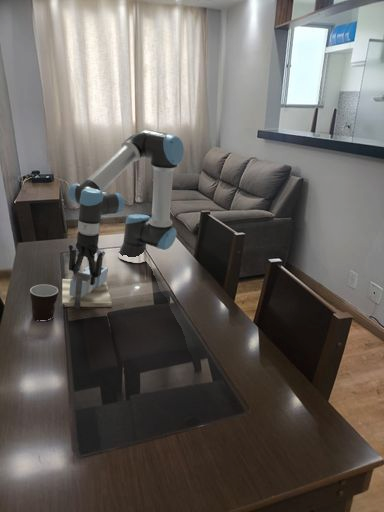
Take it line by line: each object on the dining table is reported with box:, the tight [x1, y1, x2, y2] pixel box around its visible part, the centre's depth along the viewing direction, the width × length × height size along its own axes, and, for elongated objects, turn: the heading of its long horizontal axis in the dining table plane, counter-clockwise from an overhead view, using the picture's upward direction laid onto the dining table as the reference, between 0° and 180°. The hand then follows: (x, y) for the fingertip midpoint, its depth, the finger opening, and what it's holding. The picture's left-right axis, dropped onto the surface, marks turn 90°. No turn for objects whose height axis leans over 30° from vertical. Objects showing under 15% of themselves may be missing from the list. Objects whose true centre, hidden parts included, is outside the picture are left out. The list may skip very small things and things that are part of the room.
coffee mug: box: [29, 283, 59, 322], centre depth 121 cm, size 12×9×10 cm
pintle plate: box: [61, 259, 113, 310], centre depth 139 cm, size 22×18×12 cm
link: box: [69, 265, 109, 298], centre depth 140 cm, size 19×7×6 cm, turn 167°
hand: (83, 289), depth 137 cm, fingers closed on link, 4 cm apart
